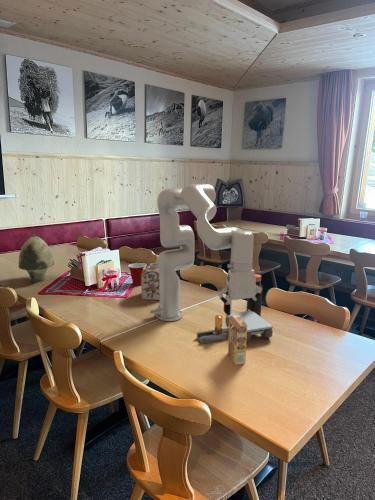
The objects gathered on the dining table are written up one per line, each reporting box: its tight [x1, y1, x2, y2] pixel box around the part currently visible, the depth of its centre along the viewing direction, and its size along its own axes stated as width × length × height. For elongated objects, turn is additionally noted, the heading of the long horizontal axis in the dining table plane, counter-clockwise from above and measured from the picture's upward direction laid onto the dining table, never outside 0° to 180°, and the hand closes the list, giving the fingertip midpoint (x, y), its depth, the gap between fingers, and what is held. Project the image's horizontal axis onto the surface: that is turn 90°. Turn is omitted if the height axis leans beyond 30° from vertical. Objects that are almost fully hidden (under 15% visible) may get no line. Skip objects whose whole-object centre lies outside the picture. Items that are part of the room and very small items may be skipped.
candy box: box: [227, 316, 247, 366], centre depth 135 cm, size 9×4×15 cm, turn 13°
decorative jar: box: [140, 262, 159, 301], centre depth 195 cm, size 12×12×18 cm
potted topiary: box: [18, 231, 55, 283], centre depth 217 cm, size 19×20×30 cm
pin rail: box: [196, 329, 227, 344], centre depth 151 cm, size 11×5×2 cm, turn 110°
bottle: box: [245, 273, 264, 317], centre depth 173 cm, size 7×7×20 cm
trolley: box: [225, 298, 274, 343], centre depth 155 cm, size 13×18×19 cm
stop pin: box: [213, 314, 229, 335], centre depth 153 cm, size 10×3×8 cm, turn 110°
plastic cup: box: [127, 262, 148, 287], centre depth 215 cm, size 11×11×12 cm
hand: (239, 312), depth 132 cm, fingers open, 9 cm apart
